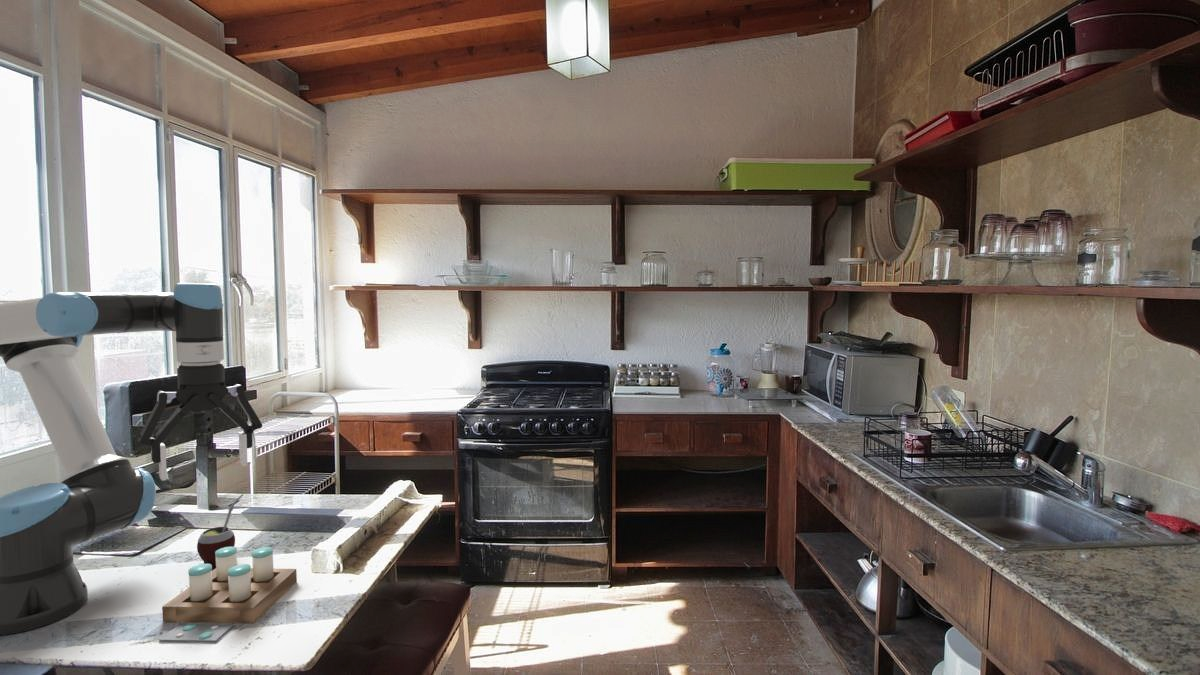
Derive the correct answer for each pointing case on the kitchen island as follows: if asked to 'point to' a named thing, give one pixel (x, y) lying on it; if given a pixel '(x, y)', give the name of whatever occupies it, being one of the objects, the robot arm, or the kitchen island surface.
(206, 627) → the card
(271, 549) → the button
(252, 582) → the board
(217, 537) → the mate gourd
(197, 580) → the button
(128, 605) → the kitchen island surface
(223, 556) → the button
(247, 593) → the button
